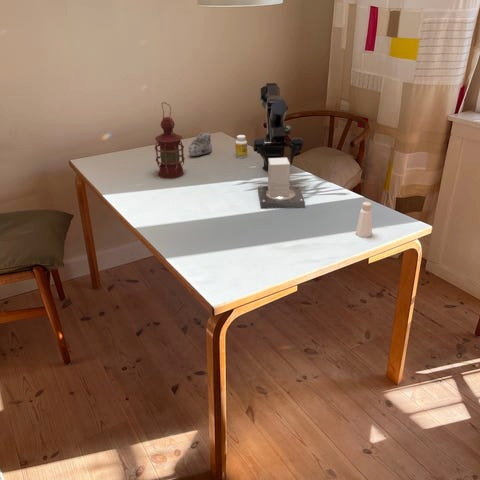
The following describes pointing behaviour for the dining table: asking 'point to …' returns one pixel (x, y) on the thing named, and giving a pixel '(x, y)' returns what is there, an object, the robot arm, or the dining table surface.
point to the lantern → (169, 150)
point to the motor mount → (281, 198)
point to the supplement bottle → (241, 146)
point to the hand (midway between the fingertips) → (279, 165)
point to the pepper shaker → (365, 221)
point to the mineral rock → (201, 145)
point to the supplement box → (278, 176)
